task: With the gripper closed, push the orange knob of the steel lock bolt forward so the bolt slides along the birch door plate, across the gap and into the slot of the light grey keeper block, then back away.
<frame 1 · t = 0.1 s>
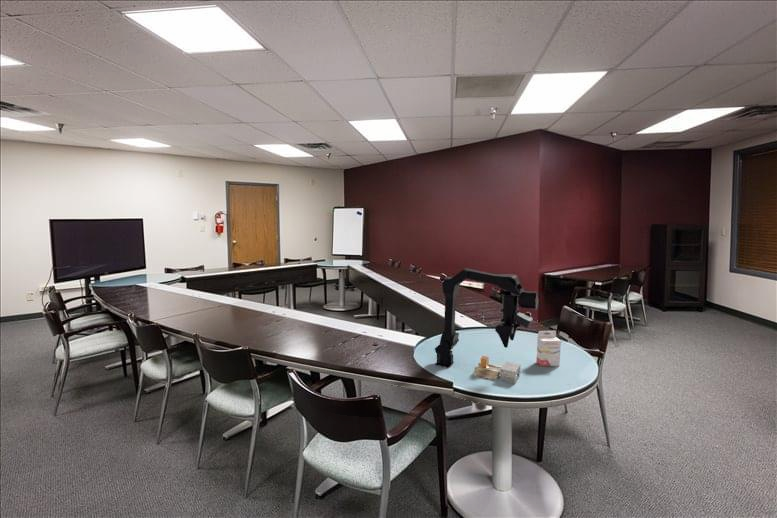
hand: (509, 343, 154), 15 cm above the table, tool pointing down, fingers open, 9 cm apart
lock bolt: (491, 365, 159), point 4 cm above the table, slide at 0.0 cm
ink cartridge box: (548, 364, 168), on the table
keeper block: (510, 378, 155), on the table
door plate: (488, 373, 160), on the table
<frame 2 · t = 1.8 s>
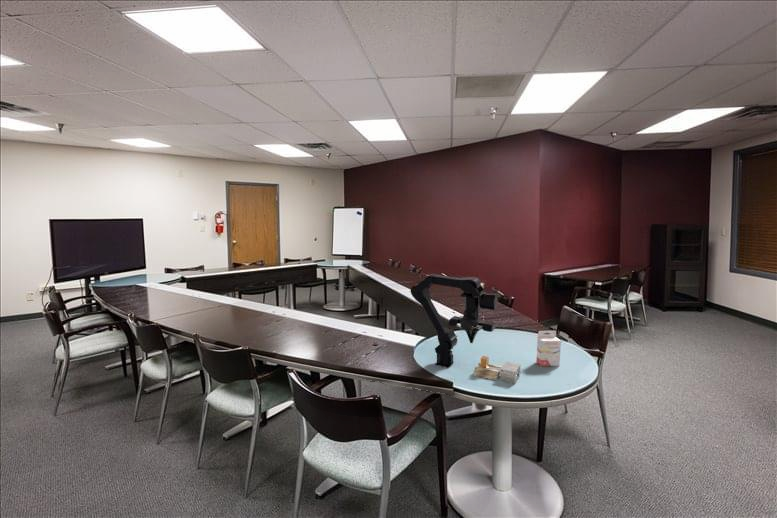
hand: (471, 342, 162), 12 cm above the table, tool pointing down, fingers closed
nothing on the table moved.
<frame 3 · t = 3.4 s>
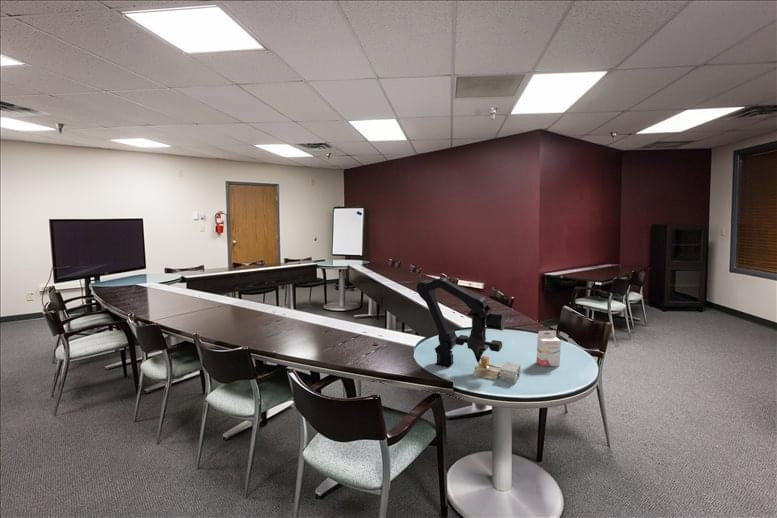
hand: (478, 362, 162), 4 cm above the table, tool pointing down, fingers closed
lock bolt: (491, 365, 159), point 4 cm above the table, slide at 0.2 cm, touching gripper
everything else where it was.
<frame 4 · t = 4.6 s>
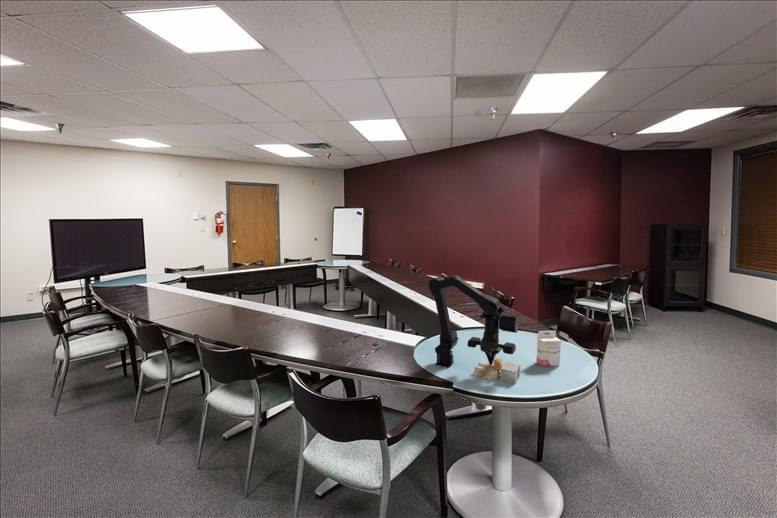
hand: (491, 364, 159), 4 cm above the table, tool pointing down, fingers closed
lock bolt: (504, 367, 156), point 4 cm above the table, slide at 5.6 cm, touching gripper
everything else where it was.
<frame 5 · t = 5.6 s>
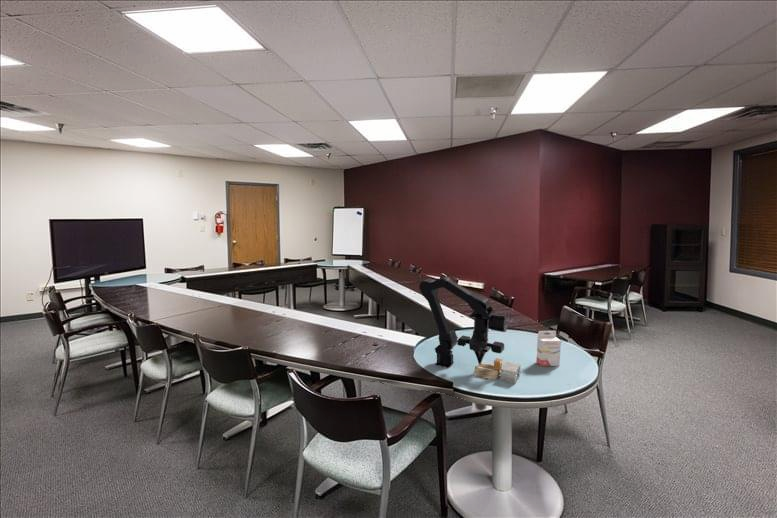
hand: (479, 363, 161), 4 cm above the table, tool pointing down, fingers closed
lock bolt: (504, 367, 156), point 4 cm above the table, slide at 5.6 cm
everything else where it was.
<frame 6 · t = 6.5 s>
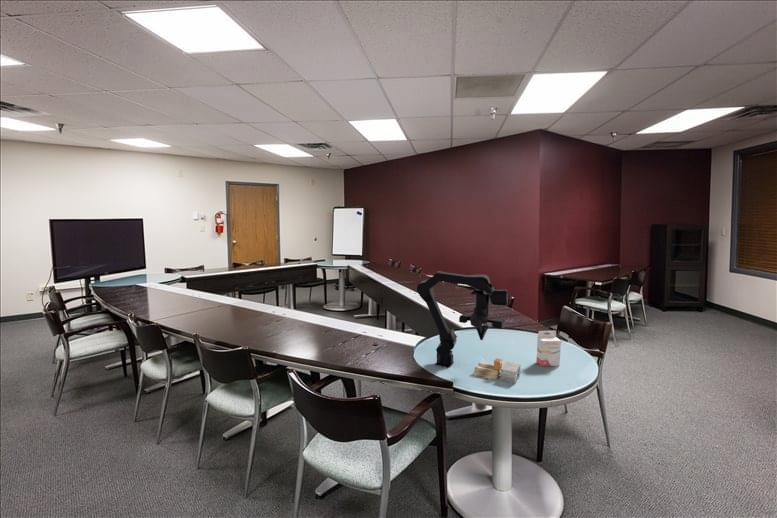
hand: (481, 339, 163), 13 cm above the table, tool pointing down, fingers closed
nothing on the table moved.
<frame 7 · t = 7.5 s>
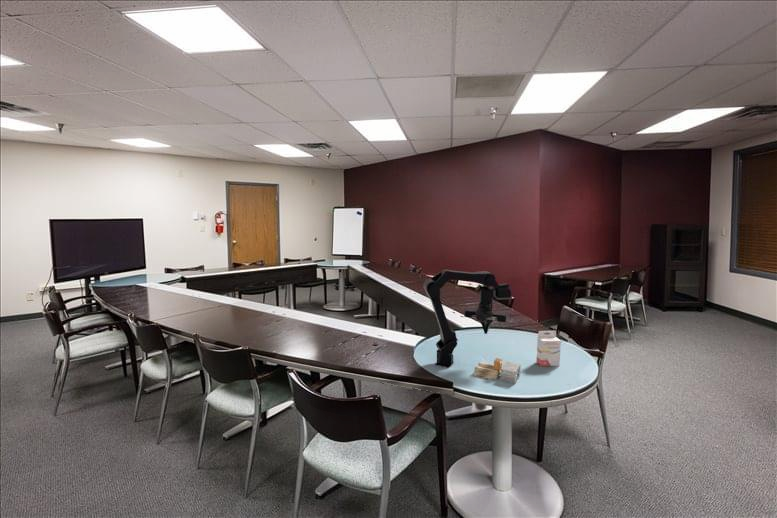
hand: (485, 333, 171), 13 cm above the table, tool pointing down, fingers closed
nothing on the table moved.
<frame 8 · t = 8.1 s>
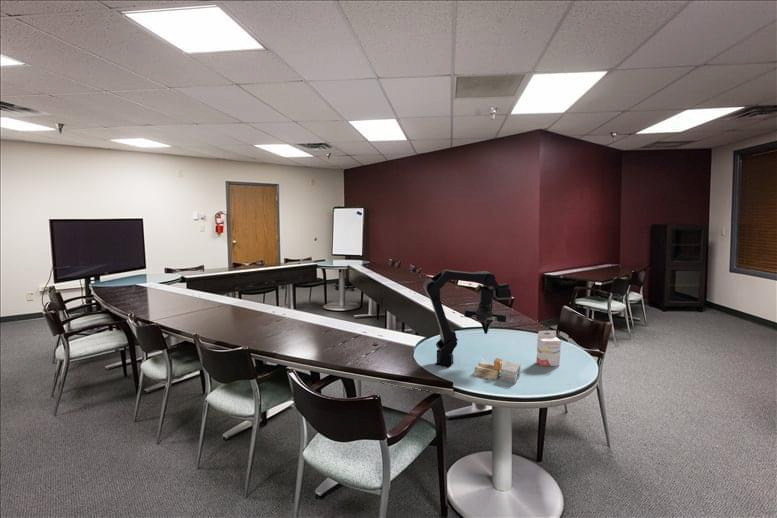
hand: (485, 333, 171), 13 cm above the table, tool pointing down, fingers closed
nothing on the table moved.
at the end: lock bolt slide at 5.6 cm; the gripper is holding nothing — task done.
